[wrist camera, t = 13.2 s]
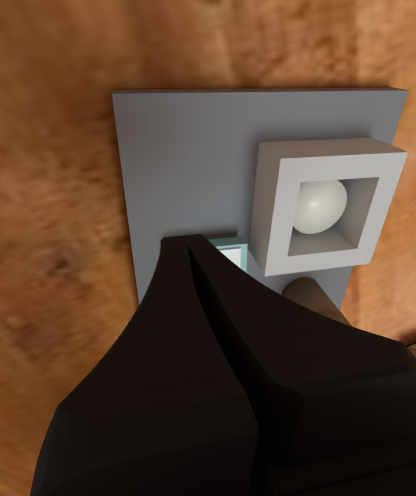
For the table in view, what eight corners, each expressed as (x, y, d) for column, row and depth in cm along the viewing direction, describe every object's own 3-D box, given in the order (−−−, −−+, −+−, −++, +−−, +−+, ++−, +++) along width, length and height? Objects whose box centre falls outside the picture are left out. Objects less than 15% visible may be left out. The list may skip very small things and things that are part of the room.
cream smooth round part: (326, 220, 22) (339, 231, 20) (276, 224, 21) (285, 236, 20) (339, 167, 20) (353, 176, 18) (284, 170, 19) (295, 179, 18)
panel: (326, 310, 29) (355, 350, 25) (144, 338, 26) (147, 387, 22) (390, 87, 19) (453, 98, 16) (112, 89, 16) (109, 104, 13)
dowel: (315, 303, 26) (370, 379, 20) (280, 310, 25) (325, 390, 20) (320, 273, 24) (381, 347, 19) (282, 281, 24) (333, 358, 18)
